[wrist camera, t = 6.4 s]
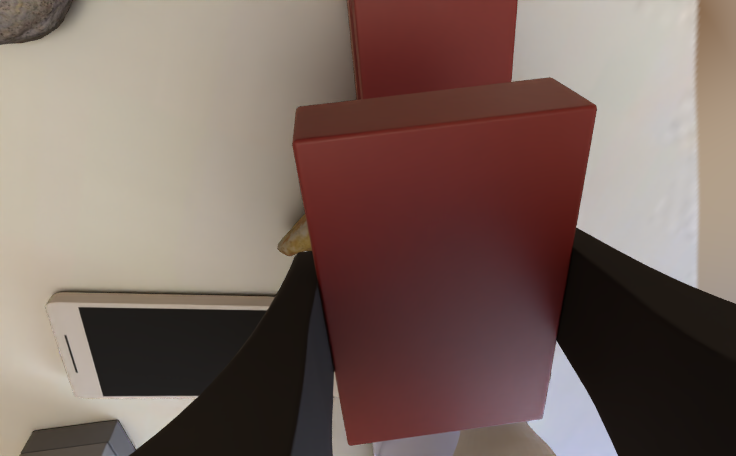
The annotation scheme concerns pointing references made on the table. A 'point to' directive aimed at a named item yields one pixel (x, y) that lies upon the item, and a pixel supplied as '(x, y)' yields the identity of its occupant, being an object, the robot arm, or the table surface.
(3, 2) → the stone
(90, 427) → the grey stack
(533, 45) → the table surface
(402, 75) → the oxblood stack
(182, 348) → the smartphone
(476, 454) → the light bulb
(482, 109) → the oxblood book
